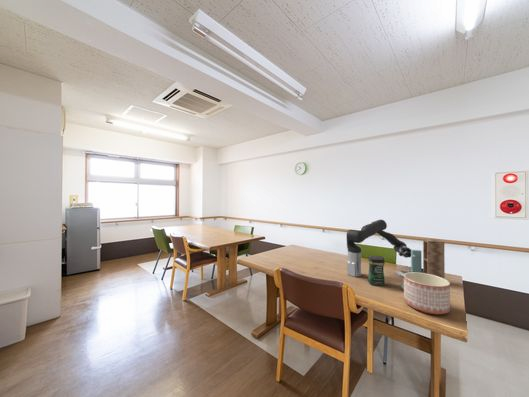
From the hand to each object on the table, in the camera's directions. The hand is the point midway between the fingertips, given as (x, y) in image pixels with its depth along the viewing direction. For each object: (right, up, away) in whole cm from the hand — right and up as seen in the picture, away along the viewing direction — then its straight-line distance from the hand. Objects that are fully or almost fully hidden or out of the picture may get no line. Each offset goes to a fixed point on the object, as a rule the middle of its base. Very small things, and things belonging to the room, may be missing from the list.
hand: (412, 256), depth 159 cm
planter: (-28, -13, -49) cm, 57 cm away
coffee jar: (-38, -13, -19) cm, 44 cm away
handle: (-18, -13, -31) cm, 38 cm away
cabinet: (-1, -12, -11) cm, 16 cm away
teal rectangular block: (-2, -11, -7) cm, 13 cm away
